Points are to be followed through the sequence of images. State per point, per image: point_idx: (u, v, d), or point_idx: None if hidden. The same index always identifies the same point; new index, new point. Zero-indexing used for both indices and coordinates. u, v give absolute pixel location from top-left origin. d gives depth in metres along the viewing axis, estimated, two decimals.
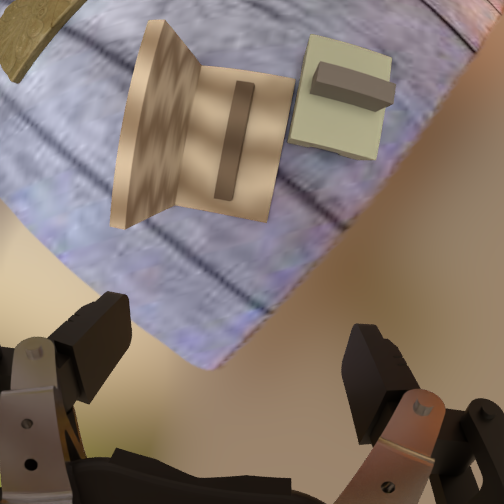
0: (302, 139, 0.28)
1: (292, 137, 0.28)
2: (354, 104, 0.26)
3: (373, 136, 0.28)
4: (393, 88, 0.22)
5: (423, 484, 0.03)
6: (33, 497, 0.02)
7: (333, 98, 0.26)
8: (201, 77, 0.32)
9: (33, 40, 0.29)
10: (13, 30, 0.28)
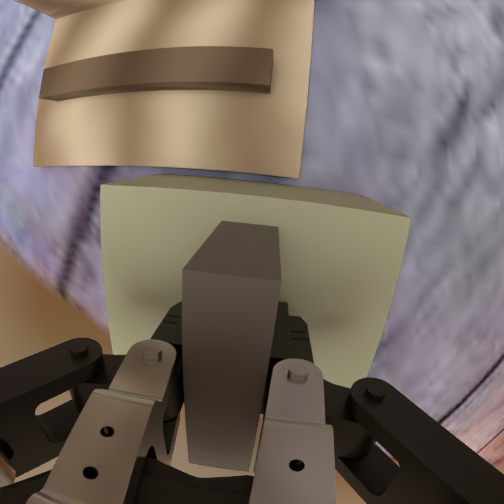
0: (102, 214, 0.11)
1: (102, 189, 0.11)
2: None
3: None
4: (233, 467, 0.08)
5: (331, 451, 0.04)
6: (74, 503, 0.02)
7: None
8: None
9: None
10: None
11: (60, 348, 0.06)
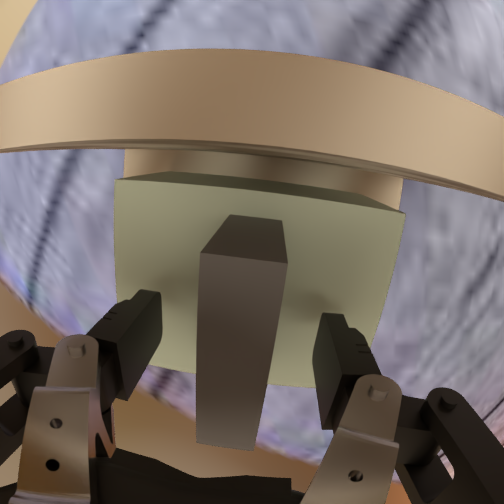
0: (116, 207, 0.12)
1: (116, 183, 0.12)
2: None
3: (164, 356, 0.14)
4: (239, 446, 0.09)
5: (391, 468, 0.04)
6: (48, 497, 0.02)
7: None
8: (380, 178, 0.17)
9: None
10: None
11: None
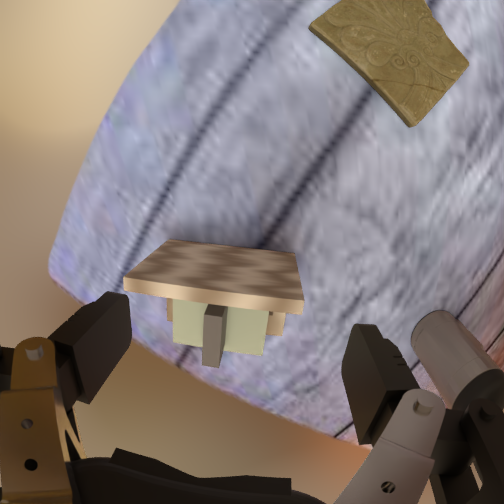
0: None
1: None
2: None
3: (190, 340, 0.39)
4: (214, 366, 0.34)
5: (423, 484, 0.03)
6: (33, 497, 0.02)
7: None
8: None
9: (360, 53, 0.32)
10: (385, 17, 0.29)
11: None
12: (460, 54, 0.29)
